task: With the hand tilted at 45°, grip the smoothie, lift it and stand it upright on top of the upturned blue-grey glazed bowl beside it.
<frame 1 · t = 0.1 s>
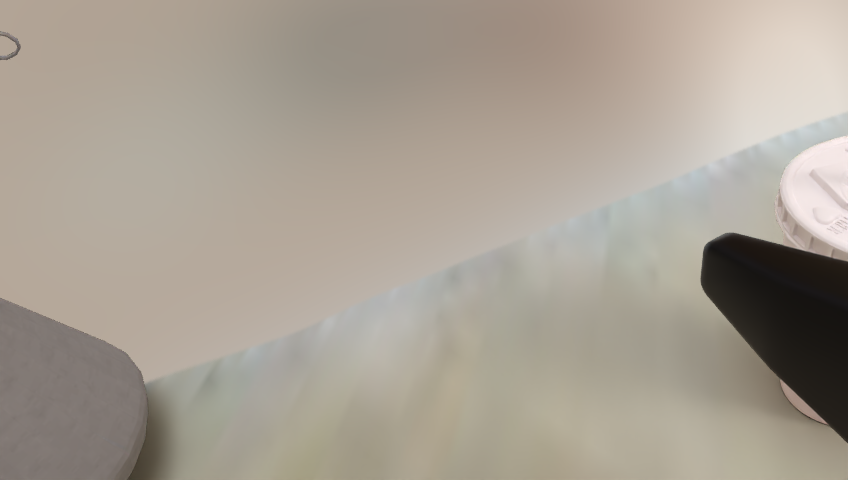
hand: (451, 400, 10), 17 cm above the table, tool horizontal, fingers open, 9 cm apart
smoothie: (832, 389, 27), on the table
coffee pot: (83, 394, 34), on the table
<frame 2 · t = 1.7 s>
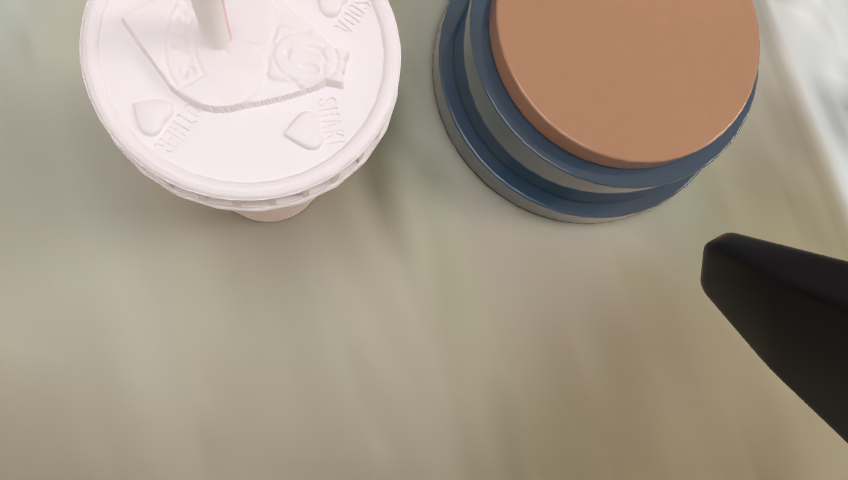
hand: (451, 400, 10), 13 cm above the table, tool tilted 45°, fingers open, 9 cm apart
smoothie: (269, 169, 23), on the table
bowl: (576, 79, 26), on the table
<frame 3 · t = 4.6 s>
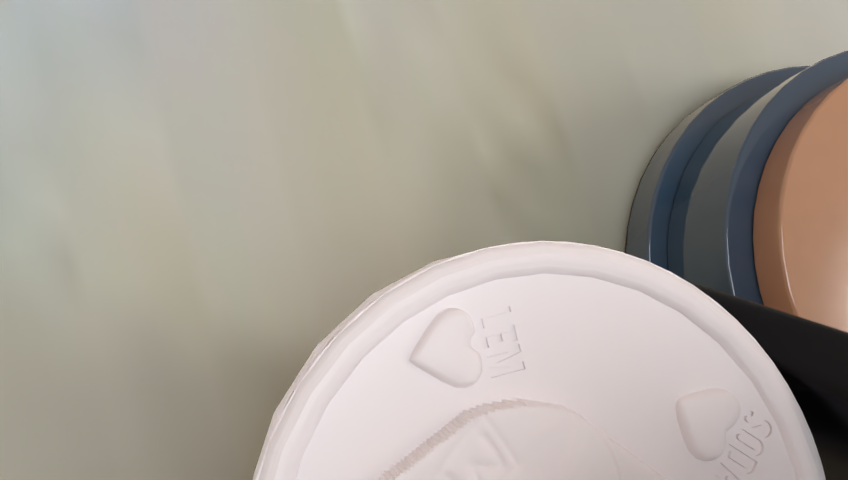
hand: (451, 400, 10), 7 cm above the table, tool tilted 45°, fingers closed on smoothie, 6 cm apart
smoothie: (411, 429, 16), on the table, touching gripper
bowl: (811, 272, 19), on the table
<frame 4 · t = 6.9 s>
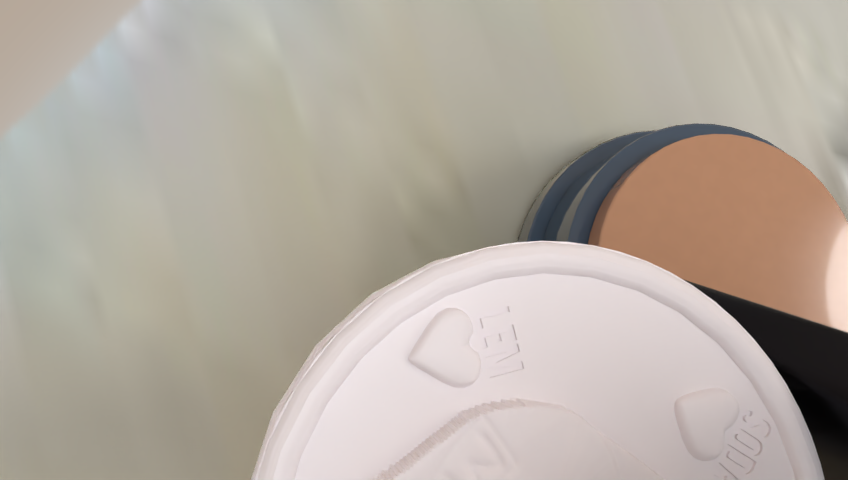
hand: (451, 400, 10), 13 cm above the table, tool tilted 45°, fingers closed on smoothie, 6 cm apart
smoothie: (410, 429, 16), point 6 cm above the table, touching gripper
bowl: (657, 287, 25), on the table
when the fingers open (12 cm above the table, at t = 9.7 s): smoothie stays where it is, resting on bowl.
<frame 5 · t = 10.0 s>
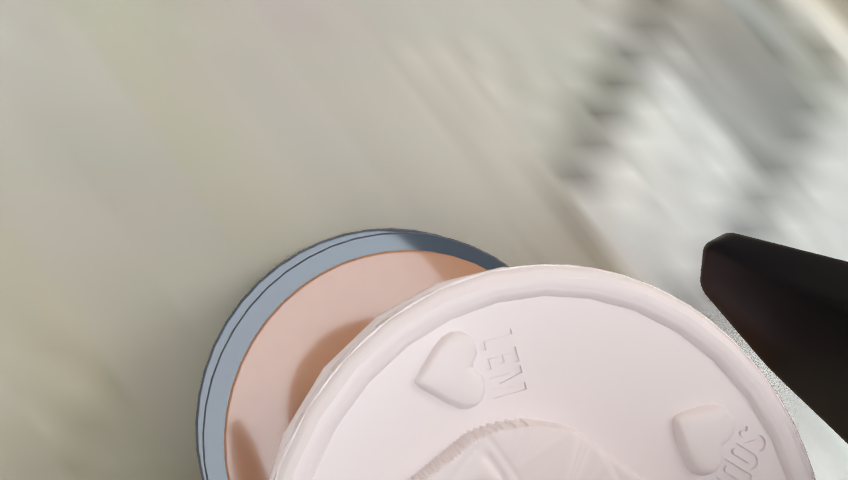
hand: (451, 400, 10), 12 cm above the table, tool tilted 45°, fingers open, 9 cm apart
smoothie: (413, 436, 17), point 4 cm above the table, touching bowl
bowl: (388, 411, 21), on the table
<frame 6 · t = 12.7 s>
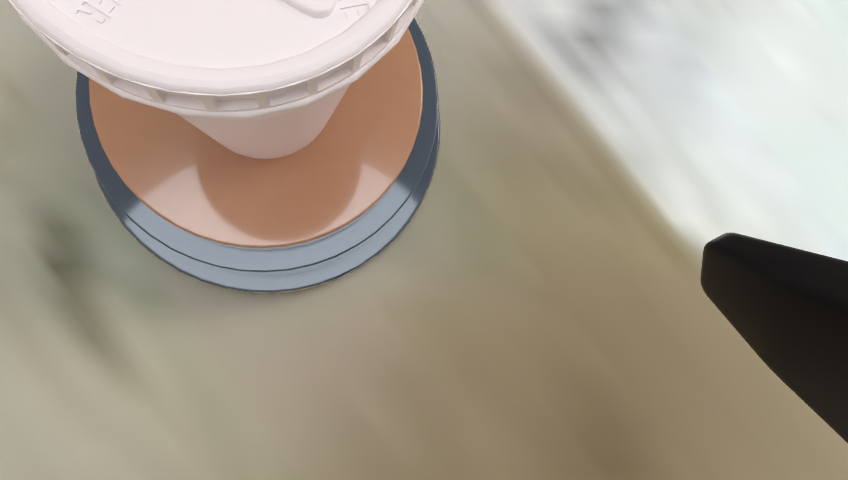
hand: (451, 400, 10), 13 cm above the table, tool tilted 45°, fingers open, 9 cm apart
smoothie: (265, 93, 19), point 4 cm above the table, touching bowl
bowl: (272, 128, 23), on the table
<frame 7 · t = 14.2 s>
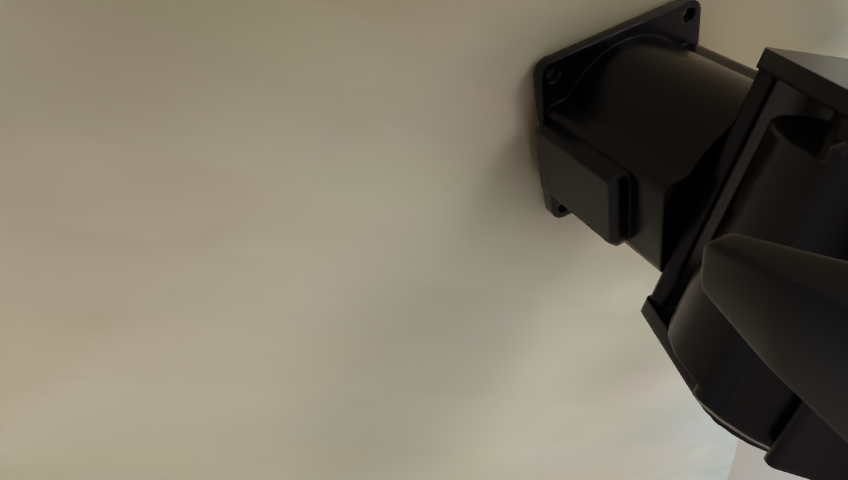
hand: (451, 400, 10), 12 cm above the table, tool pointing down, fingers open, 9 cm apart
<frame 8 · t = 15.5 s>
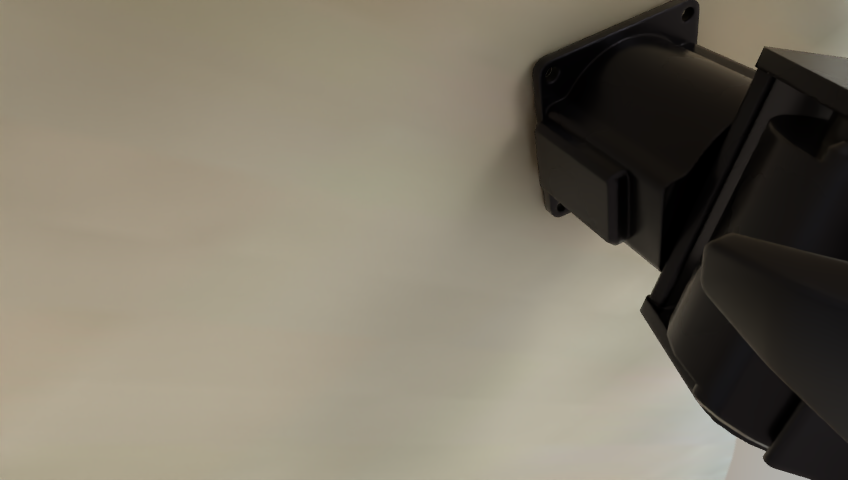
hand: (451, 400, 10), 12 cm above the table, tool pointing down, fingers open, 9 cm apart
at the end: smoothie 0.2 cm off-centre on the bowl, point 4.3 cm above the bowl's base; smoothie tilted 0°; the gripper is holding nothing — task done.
